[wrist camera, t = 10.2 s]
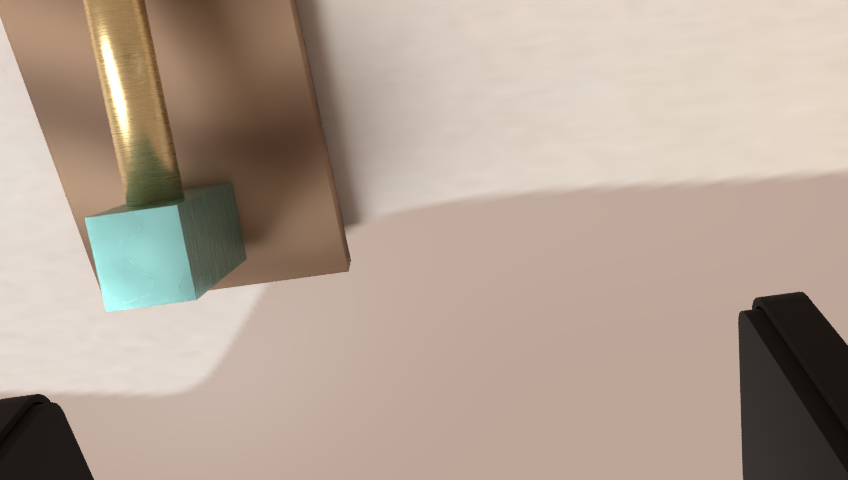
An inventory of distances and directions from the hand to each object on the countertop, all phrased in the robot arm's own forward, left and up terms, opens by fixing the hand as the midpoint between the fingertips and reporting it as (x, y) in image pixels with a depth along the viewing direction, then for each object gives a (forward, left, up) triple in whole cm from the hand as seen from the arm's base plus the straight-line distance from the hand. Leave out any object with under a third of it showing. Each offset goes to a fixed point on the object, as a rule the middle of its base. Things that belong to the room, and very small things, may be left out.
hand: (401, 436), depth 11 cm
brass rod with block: (+10, +5, -26) cm, 28 cm away
